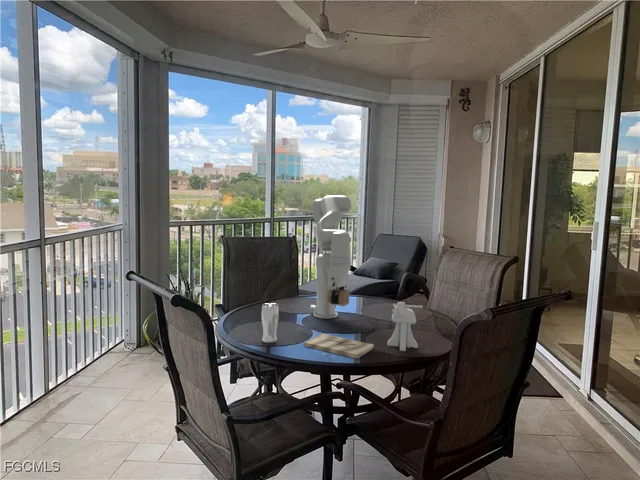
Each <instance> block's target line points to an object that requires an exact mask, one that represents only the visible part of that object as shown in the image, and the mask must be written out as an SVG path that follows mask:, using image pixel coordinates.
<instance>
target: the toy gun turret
mask: <svg viewBox="0 0 640 480" xmlns="http://www.w3.org/2000/svg"><path fill="white" fill-rule="evenodd" d="M392 307H394V308H392V309H391V310H390V311H391V312H392V316H391V321H392V322H393V323H395V329H394V330H393V333H392V334H391V336H390V338H389V340H387V342H386V343H387V345H386V346H388V347H389V346H390V347H399V351H401V352H406V350H407V348H411V347H413V348H415V349H418V348H419V345H418V344H419V343H418V342H417V341H416V340H415V337H414V336H413V333H412V328H411V327H412V325H415V324H416V323H417V317H416V315H415V311H413V309H412V308H420V309H423V307H424V306H423V305H414V304H413V305H412V304H406V303H405V302H403V301H399V302H397V304H396V303H395V302H394V303H392Z"/></svg>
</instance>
